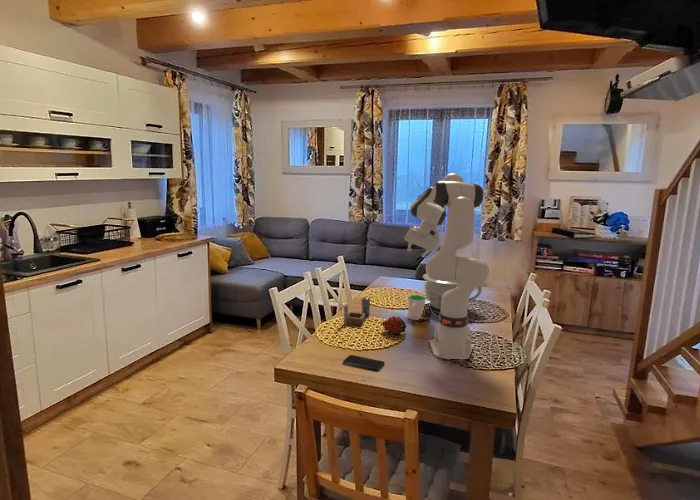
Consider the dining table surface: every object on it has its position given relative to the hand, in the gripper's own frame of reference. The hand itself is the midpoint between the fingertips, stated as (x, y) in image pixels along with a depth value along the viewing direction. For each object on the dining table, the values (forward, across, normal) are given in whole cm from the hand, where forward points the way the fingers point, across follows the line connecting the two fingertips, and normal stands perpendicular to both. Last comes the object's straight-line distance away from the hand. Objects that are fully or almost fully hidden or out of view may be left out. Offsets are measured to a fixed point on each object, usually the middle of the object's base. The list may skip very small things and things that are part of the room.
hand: (415, 253), depth 243 cm
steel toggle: (+40, -1, -17) cm, 43 cm away
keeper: (+44, +3, -28) cm, 52 cm away
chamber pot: (+19, +19, +22) cm, 34 cm away
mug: (+30, +19, -4) cm, 36 cm away
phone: (+51, +37, -57) cm, 85 cm away
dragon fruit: (+39, +24, -26) cm, 53 cm away
